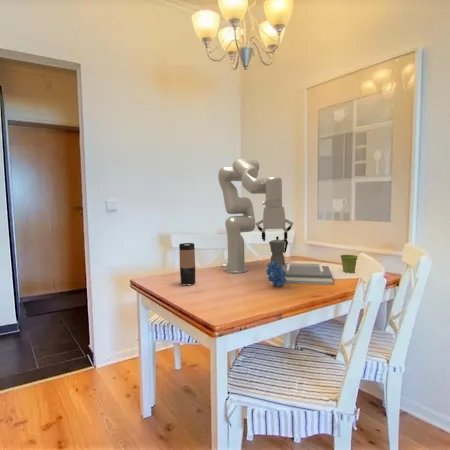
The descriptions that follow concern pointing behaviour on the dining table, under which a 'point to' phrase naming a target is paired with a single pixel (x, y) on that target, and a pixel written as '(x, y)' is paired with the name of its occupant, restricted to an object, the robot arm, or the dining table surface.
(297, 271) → the dock
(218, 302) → the dining table surface
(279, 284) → the grapes
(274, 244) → the coffeepot
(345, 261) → the plant pot
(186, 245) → the travel mug
